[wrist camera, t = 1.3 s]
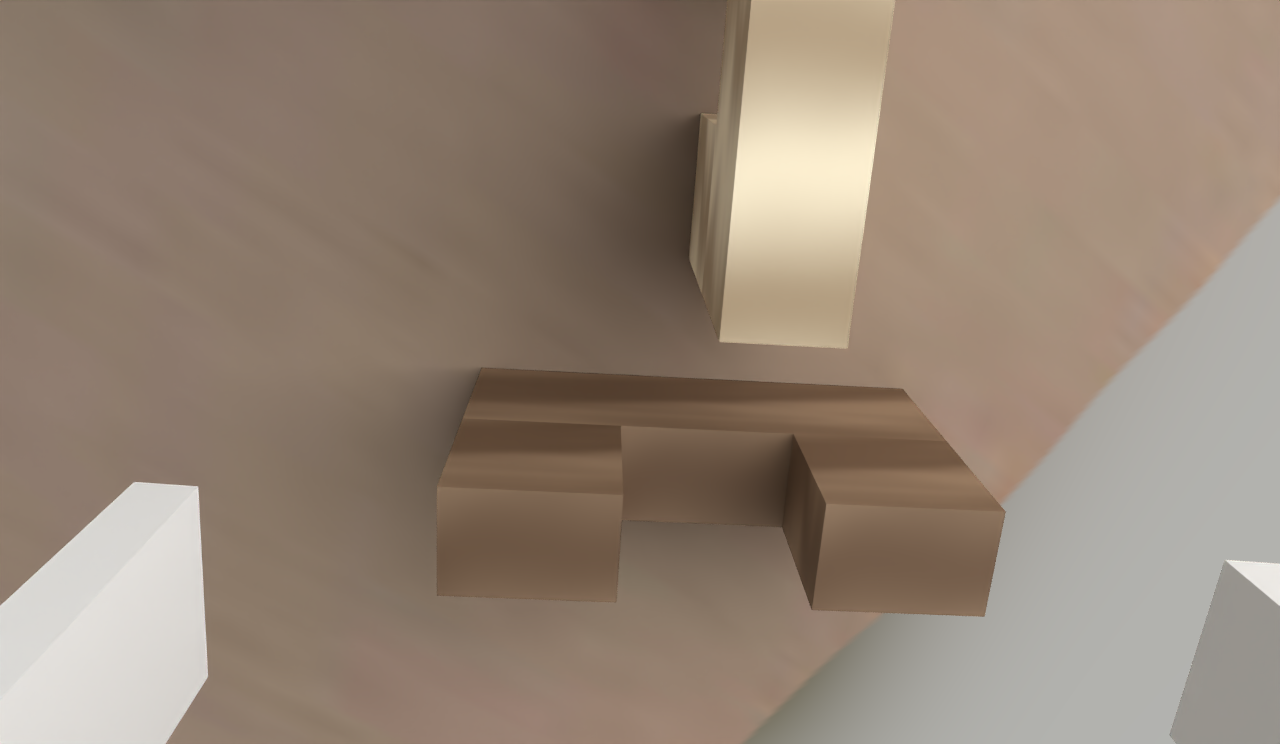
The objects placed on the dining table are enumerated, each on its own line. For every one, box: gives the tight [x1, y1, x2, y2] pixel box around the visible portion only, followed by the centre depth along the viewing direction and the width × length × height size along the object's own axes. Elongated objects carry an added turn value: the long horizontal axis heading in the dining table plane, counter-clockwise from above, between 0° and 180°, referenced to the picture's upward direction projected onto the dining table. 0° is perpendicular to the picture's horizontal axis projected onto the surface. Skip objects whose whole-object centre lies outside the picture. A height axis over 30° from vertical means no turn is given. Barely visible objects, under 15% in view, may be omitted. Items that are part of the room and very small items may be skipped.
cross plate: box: [689, 0, 895, 349], centre depth 25 cm, size 14×3×9 cm, turn 176°
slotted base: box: [437, 368, 1006, 617], centre depth 29 cm, size 3×14×9 cm, turn 86°
